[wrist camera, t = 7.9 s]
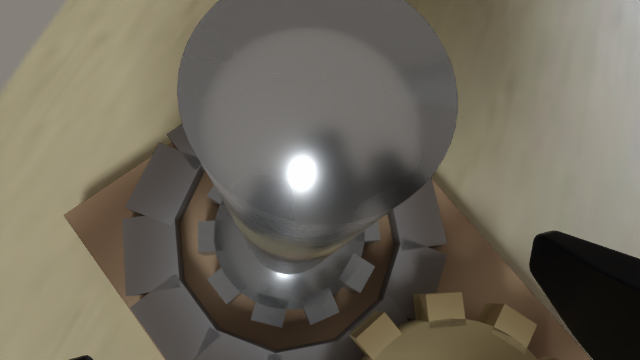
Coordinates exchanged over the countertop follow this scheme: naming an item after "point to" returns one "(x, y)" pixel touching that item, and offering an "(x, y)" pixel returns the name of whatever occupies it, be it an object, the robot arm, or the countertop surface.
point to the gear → (310, 139)
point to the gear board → (354, 308)
